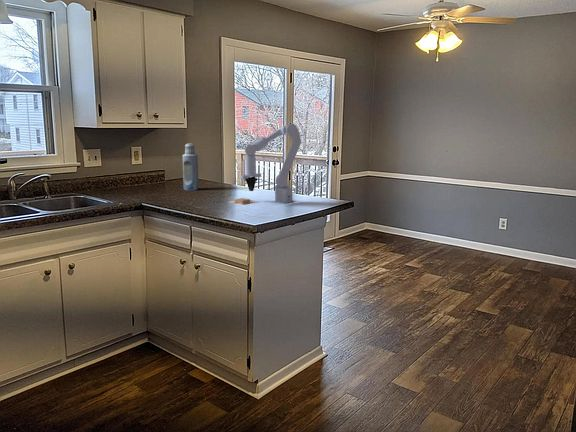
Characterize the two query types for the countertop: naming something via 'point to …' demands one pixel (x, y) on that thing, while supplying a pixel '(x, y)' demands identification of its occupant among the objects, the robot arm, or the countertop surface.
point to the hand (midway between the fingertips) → (251, 190)
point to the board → (244, 203)
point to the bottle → (190, 168)
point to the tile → (242, 200)
